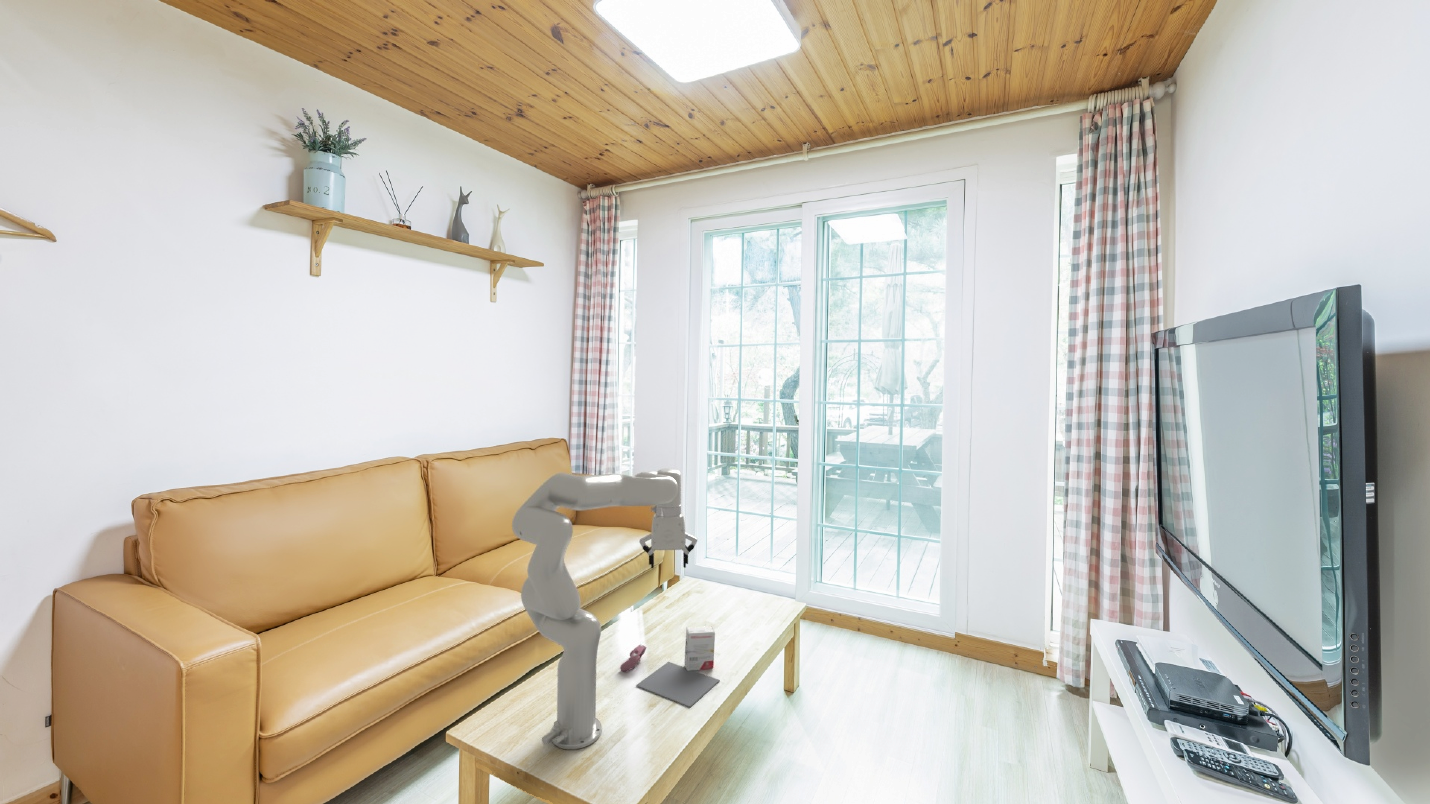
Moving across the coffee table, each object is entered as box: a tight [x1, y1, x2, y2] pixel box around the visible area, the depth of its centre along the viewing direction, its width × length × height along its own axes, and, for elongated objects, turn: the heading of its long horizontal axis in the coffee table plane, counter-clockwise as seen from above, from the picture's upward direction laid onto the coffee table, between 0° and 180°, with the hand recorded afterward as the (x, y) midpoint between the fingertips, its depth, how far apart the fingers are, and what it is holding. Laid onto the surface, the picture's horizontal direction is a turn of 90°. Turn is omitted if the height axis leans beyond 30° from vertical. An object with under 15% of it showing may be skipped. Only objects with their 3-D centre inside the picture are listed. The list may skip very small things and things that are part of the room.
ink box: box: [684, 625, 716, 671], centre depth 173 cm, size 9×5×12 cm, turn 103°
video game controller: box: [619, 643, 647, 672], centre depth 174 cm, size 10×5×7 cm, turn 169°
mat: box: [635, 661, 720, 709], centre depth 164 cm, size 16×19×1 cm
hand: (668, 566), depth 166 cm, fingers open, 9 cm apart
